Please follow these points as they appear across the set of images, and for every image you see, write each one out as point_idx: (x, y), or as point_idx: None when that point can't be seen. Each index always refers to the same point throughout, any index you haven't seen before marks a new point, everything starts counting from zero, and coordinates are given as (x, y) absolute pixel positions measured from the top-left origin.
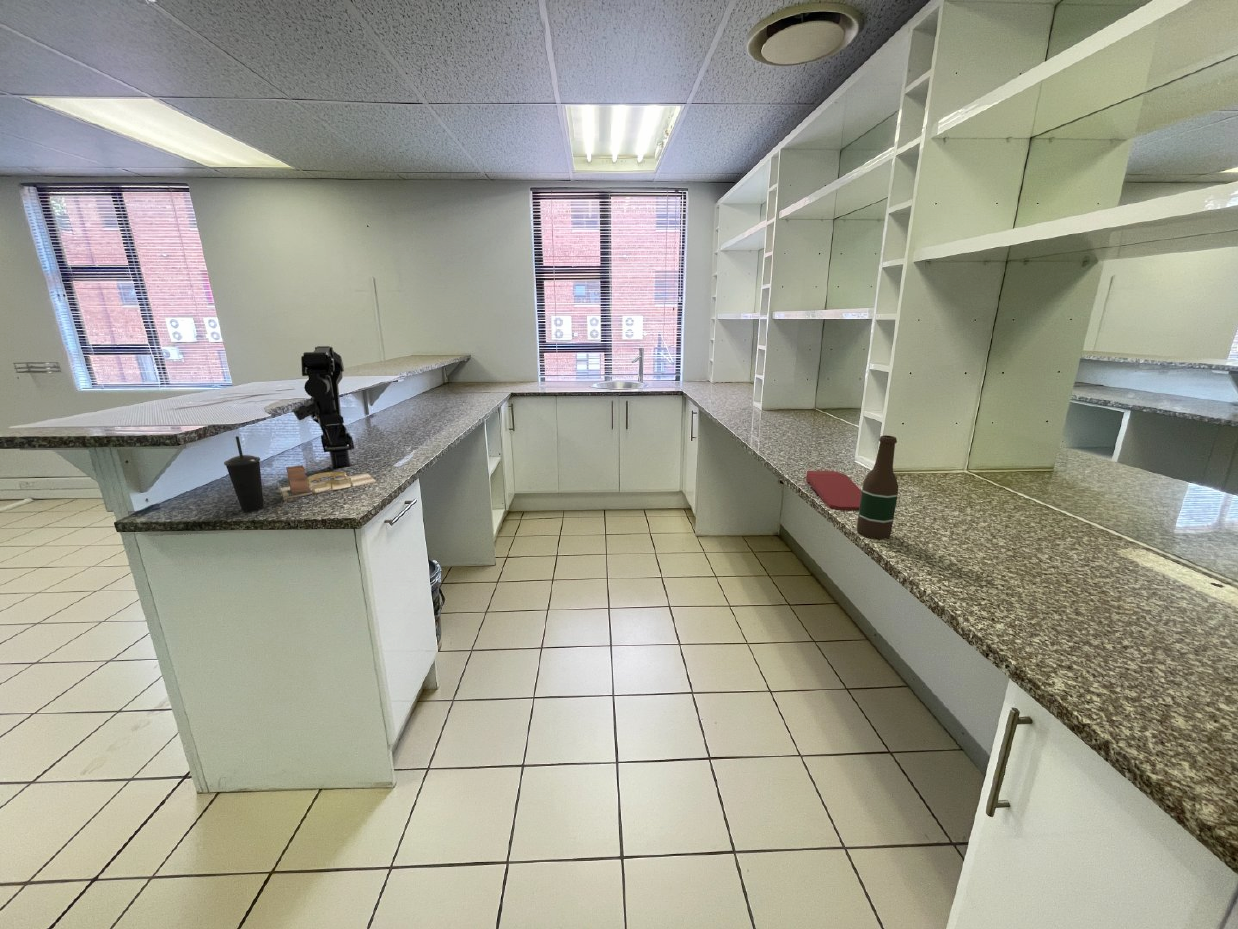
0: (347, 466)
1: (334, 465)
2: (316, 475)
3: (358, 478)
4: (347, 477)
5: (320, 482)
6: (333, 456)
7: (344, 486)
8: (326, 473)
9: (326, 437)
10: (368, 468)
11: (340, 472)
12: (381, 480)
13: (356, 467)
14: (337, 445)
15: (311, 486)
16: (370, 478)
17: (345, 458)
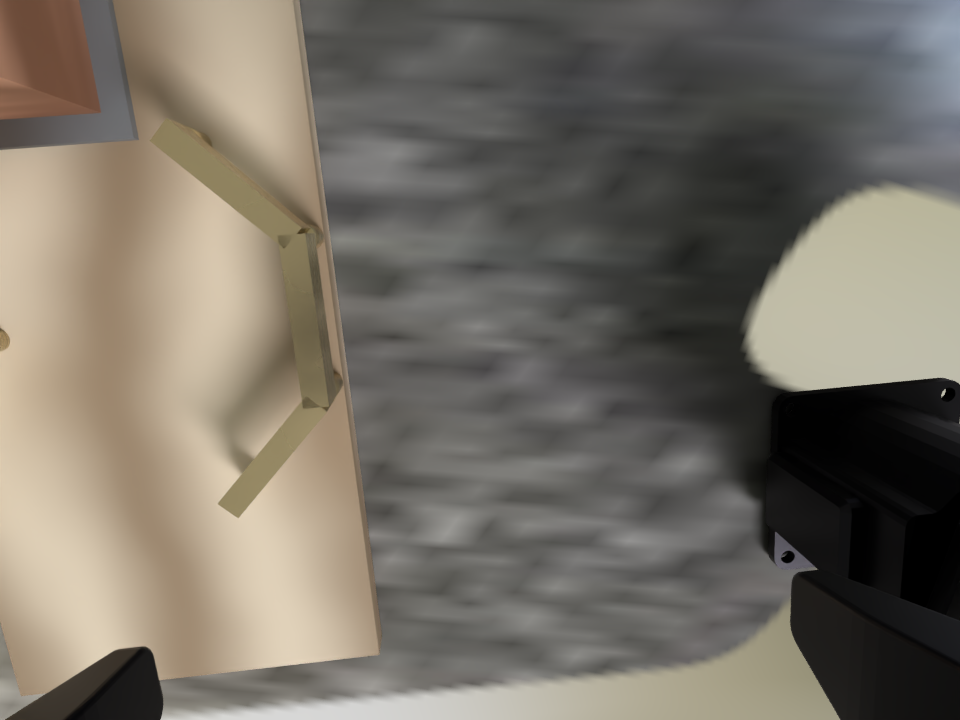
0: (767, 524)
1: (837, 426)
2: (264, 232)
3: (233, 573)
4: (323, 493)
5: (274, 256)
6: (904, 468)
7: (2, 443)
8: (296, 337)
9: (835, 622)
10: (645, 661)
11: (246, 470)
12: (177, 711)
13: (749, 580)
14: (946, 614)
15: (163, 165)
16: (174, 659)
17: (817, 563)
